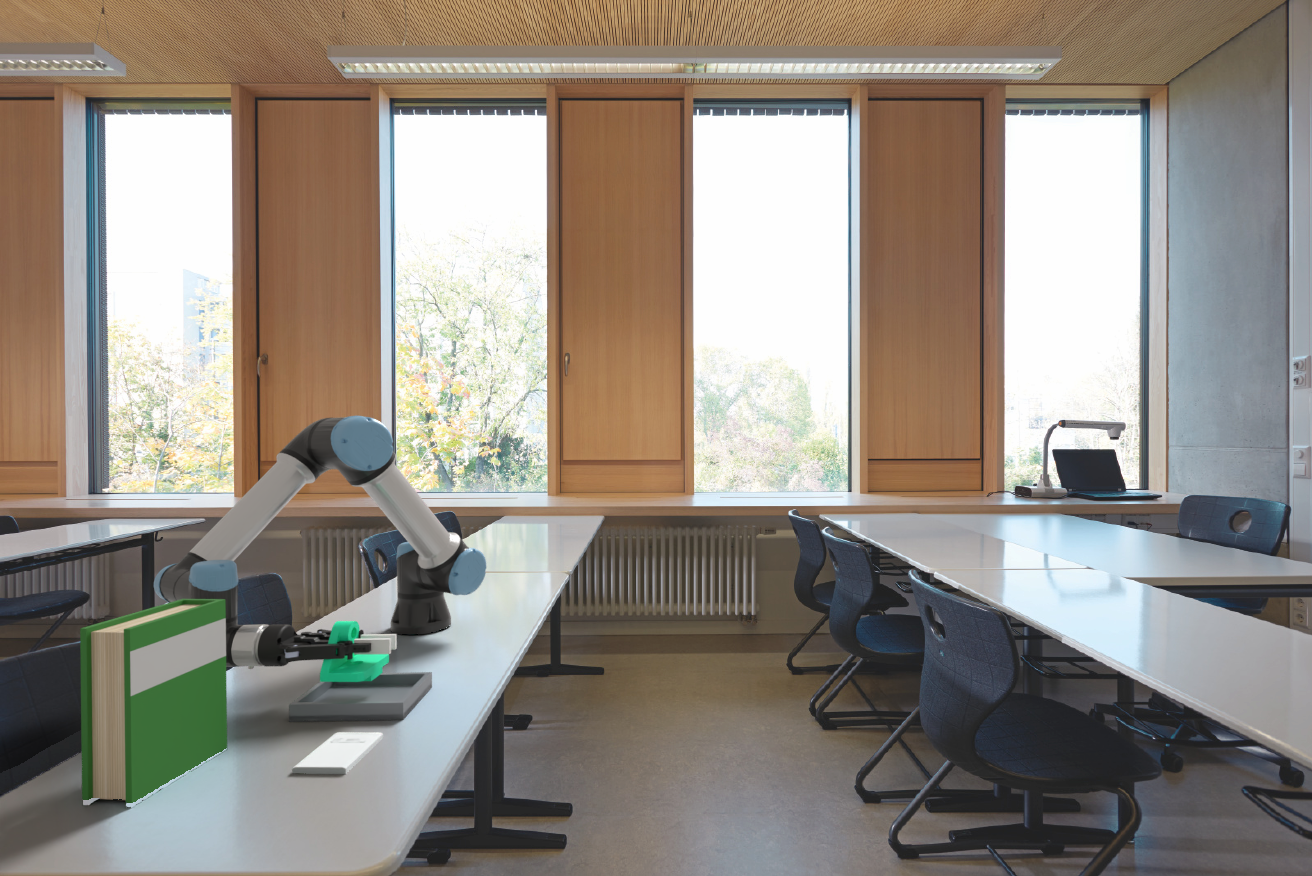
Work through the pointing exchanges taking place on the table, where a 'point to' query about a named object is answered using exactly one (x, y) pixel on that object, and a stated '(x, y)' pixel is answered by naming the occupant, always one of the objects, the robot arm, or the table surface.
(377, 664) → the green mounting bracket
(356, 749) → the external hard drive
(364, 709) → the tray
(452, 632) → the table surface
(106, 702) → the hardback book
